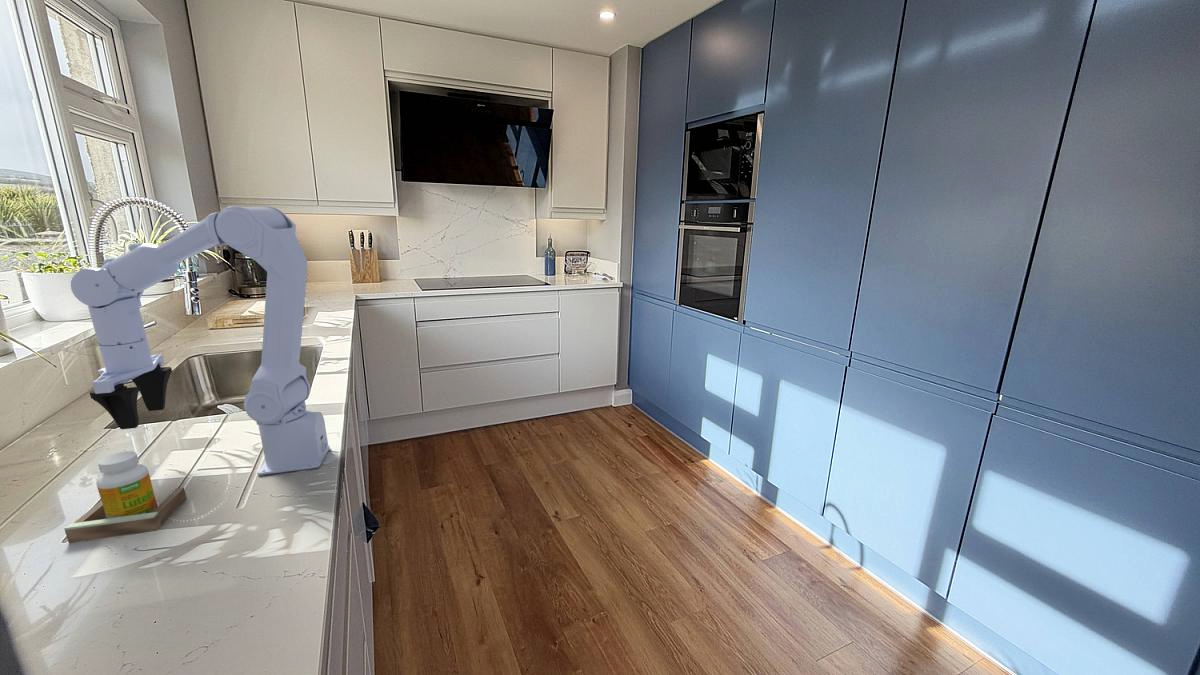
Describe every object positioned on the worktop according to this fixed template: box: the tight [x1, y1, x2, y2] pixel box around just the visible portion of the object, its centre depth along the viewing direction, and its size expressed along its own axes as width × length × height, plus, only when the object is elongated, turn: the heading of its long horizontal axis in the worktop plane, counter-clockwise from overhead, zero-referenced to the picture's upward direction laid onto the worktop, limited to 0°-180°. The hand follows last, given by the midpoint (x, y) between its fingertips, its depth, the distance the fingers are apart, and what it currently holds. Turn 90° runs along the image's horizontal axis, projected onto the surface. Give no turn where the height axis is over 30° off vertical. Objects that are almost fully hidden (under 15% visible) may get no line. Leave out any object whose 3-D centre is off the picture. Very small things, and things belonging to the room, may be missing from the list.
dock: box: [64, 487, 188, 544], centre depth 71 cm, size 10×8×2 cm
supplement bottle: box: [95, 450, 159, 519], centre depth 70 cm, size 5×5×10 cm
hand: (143, 418), depth 83 cm, fingers open, 7 cm apart
